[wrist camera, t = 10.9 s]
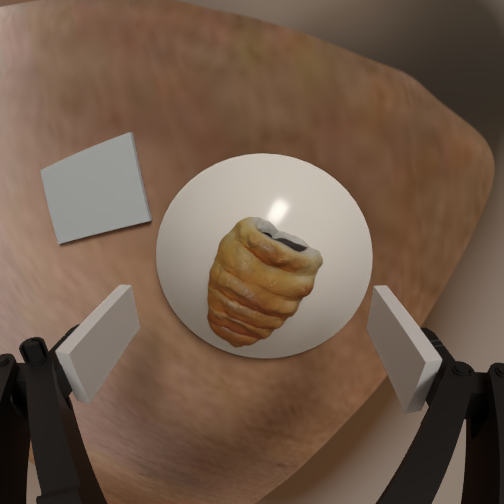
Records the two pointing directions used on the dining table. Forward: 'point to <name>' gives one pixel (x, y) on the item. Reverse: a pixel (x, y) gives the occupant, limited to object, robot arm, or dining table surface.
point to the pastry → (258, 281)
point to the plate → (284, 219)
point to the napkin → (96, 190)
